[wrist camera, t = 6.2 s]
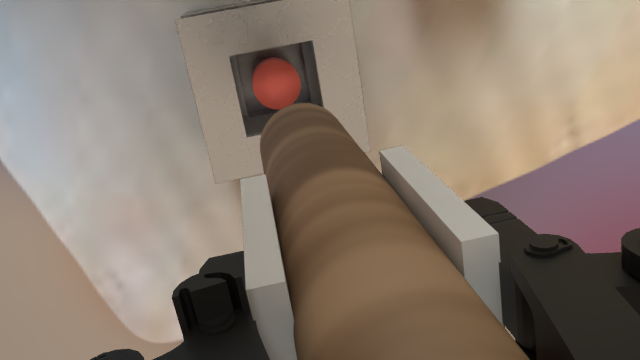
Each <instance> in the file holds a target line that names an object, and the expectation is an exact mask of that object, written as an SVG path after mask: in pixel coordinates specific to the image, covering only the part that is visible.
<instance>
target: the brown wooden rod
mask: <svg viewBox="0 0 640 360" xmlns="http://www.w3.org/2000/svg"><path fill="white" fill-rule="evenodd" d="M260 154H261V160H262V165H263V171H264V174H266V179H267V183H268V188H269V193H270V197H271V202H272V207H273V212H274V218H275V223H276V228H277V234H278V239H279V244H280V249H281V255H282V260H283V265H284V270H285V276H286V281H287V286H288V291H289V297H290V302H291V307H292V312H293V318H294V328H293V336H294V343H295V349H296V355H297V360H530V359H529V358H528V357H527V355H526V354H525V353H524V352H523V350H522V349H521V348H520V347H519V345H518V344H517V343H516V342H515V340H514V339H513V338H512V337H511V335H510V334H509V333H508V332H507V330H506V329H505V328H504V327H503V325H502V324H501V323H500V322H499V320H498V319H497V318H496V317H495V315H494V314H493V313H492V312H491V310H490V309H489V308H488V307H487V305H486V304H485V303H484V302H483V300H482V299H481V298H480V297H479V295H478V294H477V293H476V292H475V291H474V289H473V288H472V287H471V286H470V284H469V283H468V282H467V281H466V279H465V278H464V277H463V276H462V274H461V273H460V272H459V271H458V269H457V268H456V267H455V266H454V264H453V263H452V262H451V261H450V259H449V258H448V257H447V256H446V254H445V253H444V252H443V251H442V249H441V248H440V247H439V246H438V244H437V243H436V242H435V241H434V239H433V238H432V237H431V236H430V234H429V233H428V232H427V231H426V229H425V228H424V227H423V226H422V224H421V223H420V222H419V221H418V219H417V218H416V217H415V216H414V214H413V213H412V212H411V211H410V209H409V208H408V207H407V206H406V204H405V203H404V202H403V201H402V199H401V198H400V197H399V196H398V194H397V193H396V192H395V191H394V189H393V188H392V187H391V186H390V184H389V183H388V182H387V181H386V179H385V178H384V177H383V176H382V174H381V173H380V172H379V171H378V169H377V168H376V167H375V166H374V164H373V163H372V162H371V161H370V159H369V158H368V157H367V156H366V154H365V153H364V152H363V151H362V149H361V148H360V147H359V146H358V144H357V143H356V142H355V141H354V139H353V138H352V137H351V136H350V134H349V133H348V132H347V131H346V129H345V128H344V127H343V126H342V124H341V123H340V122H339V121H338V119H337V118H336V117H335V116H334V115H333V114H332V113H331V112H330V111H328V110H327V109H325V108H323V107H321V106H318V105H315V104H310V103H298V104H293V105H289V106H287V107H284V108H283V109H281V110H279V111H278V112H277V113H275V114H274V115H273V116H272V117H271V118H270V119H269V121H268V122H267V123H266V125H265V127H264V129H263V131H262V134H261V138H260Z"/></svg>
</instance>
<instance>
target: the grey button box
mask: <svg viewBox="0 0 640 360" xmlns="http://www.w3.org/2000/svg"><path fill="white" fill-rule="evenodd" d="M175 21H176V25H177V29H178V33H179V37H180V41H181V45H182V50H183V54H184V58H185V62H186V66H187V70H188V74H189V78H190V82H191V86H192V90H193V94H194V98H195V102H196V106H197V110H198V114H199V118H200V122H201V126H202V130H203V134H204V138H205V143H206V147H207V151H208V155H209V159H210V163H211V167H212V171H213V175H214V179H215V183H221V182H226V181H230V180H235V179H240V178H245V177H250V176H254V175H259V174H264V171H263V165H262V160H261V154H260V138H261V134H262V131H263V129H264V127H265V125H266V123H267V122H268V121H269V119H270V118H271V117H272V116H273V115H274V114H275V113H277V112H278V111H279V110H281V109H271V108H268V107H266V106H264V105H263V104H261V103H260V102H259V101H258V99H257V98H256V96H255V94H254V90H253V86H252V75H253V72H254V69H255V68H256V66H257V65H258V64H259V63H260V62H262V61H263V60H265V59H268V58H273V57H277V58H281V59H284V60H286V61H288V62H289V63H290V64H291V65H292V66H293V68H294V69H295V70H296V72H297V73H298V75H299V77H300V81H301V89H300V93H299V96H298V97H297V99H296V100H295V102H294V103H292V104H291V105H293V104H298V103H310V104H315V105H318V106H321V107H323V108H325V109H327V110H328V111H330V112H331V113H332V114H333V115H334V116H335V117H336V118H337V119H338V121H339V122H340V123H341V124H342V126H343V127H344V128H345V129H346V131H347V132H348V133H349V134H350V136H351V137H352V138H353V139H354V141H355V142H356V143H357V144H358V146H359V147H360V148H361V149H362V151H363V152H364V153H365V152H370V151H371V150H370V143H369V136H368V129H367V122H366V115H365V108H364V101H363V94H362V87H361V81H360V74H359V67H358V60H357V53H356V46H355V39H354V32H353V25H352V18H351V11H350V4H349V0H255V1H250V2H244V3H239V4H233V5H228V6H222V7H217V8H211V9H206V10H200V11H195V12H189V13H185V14H183V15H182V16H181V19H177V20H175Z"/></svg>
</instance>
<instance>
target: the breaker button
mask: <svg viewBox="0 0 640 360" xmlns="http://www.w3.org/2000/svg"><path fill="white" fill-rule="evenodd" d="M252 86H253V90H254V94H255V96H256V98H257V99H258V101H259V102H260V103H261V104H263V105H264V106H266V107H268V108H271V109H283V108H284V107H287V106H289V105H291V104H292V103H294V102H295V100H296V99H297V97H298V96H299V93H300V89H301V81H300V77H299V75H298V73H297V72H296V70H295V69H294V68H293V66H292V65H291V64H290V63H289V62H288V61H286V60H284V59H281V58H277V57H273V58H268V59H265V60H263V61H262V62H260V63H259V64H258V65H257V66H256V68H255V69H254V72H253V75H252Z"/></svg>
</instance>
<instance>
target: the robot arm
mask: <svg viewBox="0 0 640 360" xmlns="http://www.w3.org/2000/svg"><path fill="white" fill-rule="evenodd" d="M379 153H380V160H381V168H382V175H383V177H384V178H385V179H386V181H387V182H388V183H389V184H390V186H391V187H392V188H393V189H394V191H395V192H396V193H397V194H398V196H399V197H400V198H401V199H402V201H403V202H404V203H405V204H406V206H407V207H408V208H409V209H410V211H411V212H412V213H413V214H414V216H415V217H416V218H417V219H418V221H419V222H420V223H421V224H422V226H423V227H424V228H425V229H426V231H427V232H428V233H429V234H430V236H431V237H432V238H433V239H434V241H435V242H436V243H437V244H438V246H439V247H440V248H441V249H442V251H443V252H444V253H445V254H446V256H447V257H448V258H449V259H450V261H451V262H452V263H453V264H454V266H455V267H456V268H457V269H458V271H459V272H460V273H461V274H462V276H463V277H464V278H465V279H466V281H467V282H468V283H469V284H470V286H471V287H472V288H473V289H474V291H475V292H476V293H477V294H478V295H479V297H480V298H481V299H482V300H483V302H484V303H485V304H486V305H487V307H488V308H489V309H490V310H491V312H492V313H493V314H494V315H495V317H496V318H497V319H498V320H499V322H500V323H501V324H502V325H503V327H504V328H505V326H506V327H507V329H508V330H509V331H510V332H511V334H512V335H513V336H514V337H515V340H516V341H515V342H516V343H517V344H518V345H519V347H520V348H521V349H522V350H523V352H524V353H525V354H526V355H527V357H528V358H529V359H530V360H640V228H639V229H634V230H631V231H629V232H627V233H626V234H625V235H624V236H623V237H622V238H621V252H615V253H595V254H589V253H588V254H586V253H585V252H584V251H583V250H582V249H581V248H580V247H579V246H578V245H577V244H576V243H575V242H573V241H572V240H571V239H568V238H565V237H562V236H559V235H550V234H537V233H535V232H534V231H533V230H532V229H530V228H529V227H528V226H527V225H525V224H524V223H523V222H522V221H521V220H519V219H517V217H516V216H514V215H513V214H512V213H510V212H508V210H507V209H506V208H504V207H503V206H502V205H501V204H499V203H498V202H495V201H492V200H489V199H486V198H483V197H480V198H475V199H471V200H466V201H463V200H462V199H461V198H460V197H459V196H458V195H457V194H455V193H454V192H453V191H452V190H451V189H450V188H449V187H448V186H447V185H446V184H445V183H444V182H443V181H441V180H440V179H439V178H438V177H437V176H436V175H435V174H434V173H433V172H432V171H431V170H430V169H428V168H427V167H426V166H425V165H424V164H423V163H422V162H421V161H420V160H419V159H418V158H417V157H415V156H414V155H413V154H412V153H411V152H410V151H409V150H408V149H407V148H406V147H405V146H404V145H403V146H398V147H393V148H388V149H384V150H379ZM240 185H241V204H242V224H243V244H244V251H240V252H235V253H231V254H226V255H222V256H217V257H213V258H209V259H208V260H207V261H206V263H205V264H204V265H203V266H202V267H201V269H200V270H199V274H197V275H194V276H192V277H189V278H188V279H186V280H185V281H183V282H182V283H180V284H179V285H178V286H177V287H176V289H175V290H174V291H173V295H172V300H173V303H174V307H175V310H176V313H177V317H178V320H179V324H180V327H181V330H182V334H183V338H184V342H183V343H182V344H181V345H179V346H178V347H176V348H175V349H173V350H172V351H170V352H168V353H166V354H164V355H162V356H160V357H157V358H155V359H153V360H297V355H296V349H295V343H294V336H293V328H294V318H293V312H292V307H291V302H290V297H289V291H288V286H287V281H286V276H285V270H284V265H283V260H282V255H281V249H280V244H279V239H278V234H277V228H276V223H275V218H274V212H273V207H272V202H271V197H270V193H269V188H268V183H267V179H266V174H264V175H259V176H254V177H249V178H245V179H240ZM91 360H144V357H143V356H142V355H141V354H140V353H139V352H138V351H135V350H131V349H121V350H114V351H110V352H105V353H102V354H100V355H98V356H97V357H94V358H92V359H91Z"/></svg>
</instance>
